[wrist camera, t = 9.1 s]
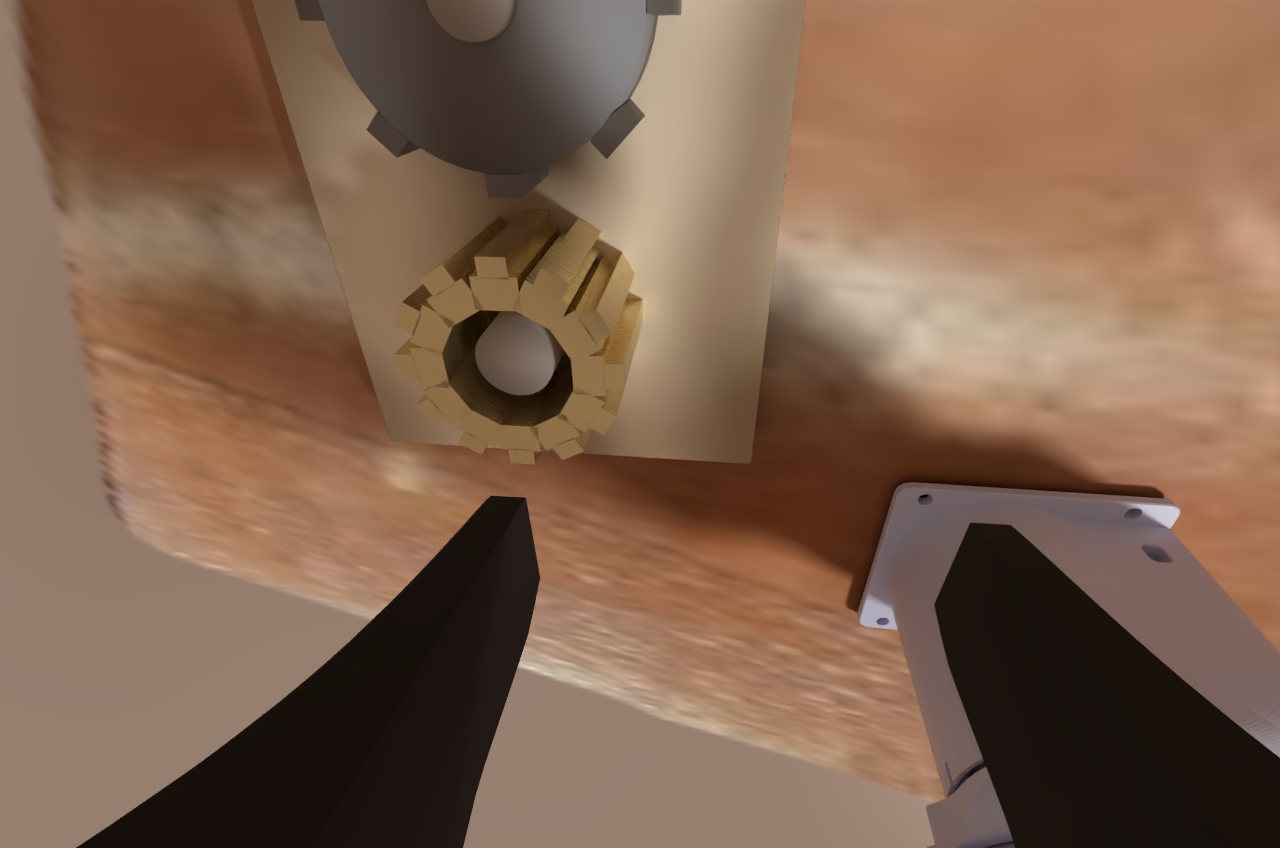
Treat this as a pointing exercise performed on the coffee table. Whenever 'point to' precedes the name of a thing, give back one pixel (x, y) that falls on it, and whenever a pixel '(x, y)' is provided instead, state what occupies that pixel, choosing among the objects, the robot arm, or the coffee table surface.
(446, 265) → the brass gear
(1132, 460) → the coffee table surface
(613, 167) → the gear board
